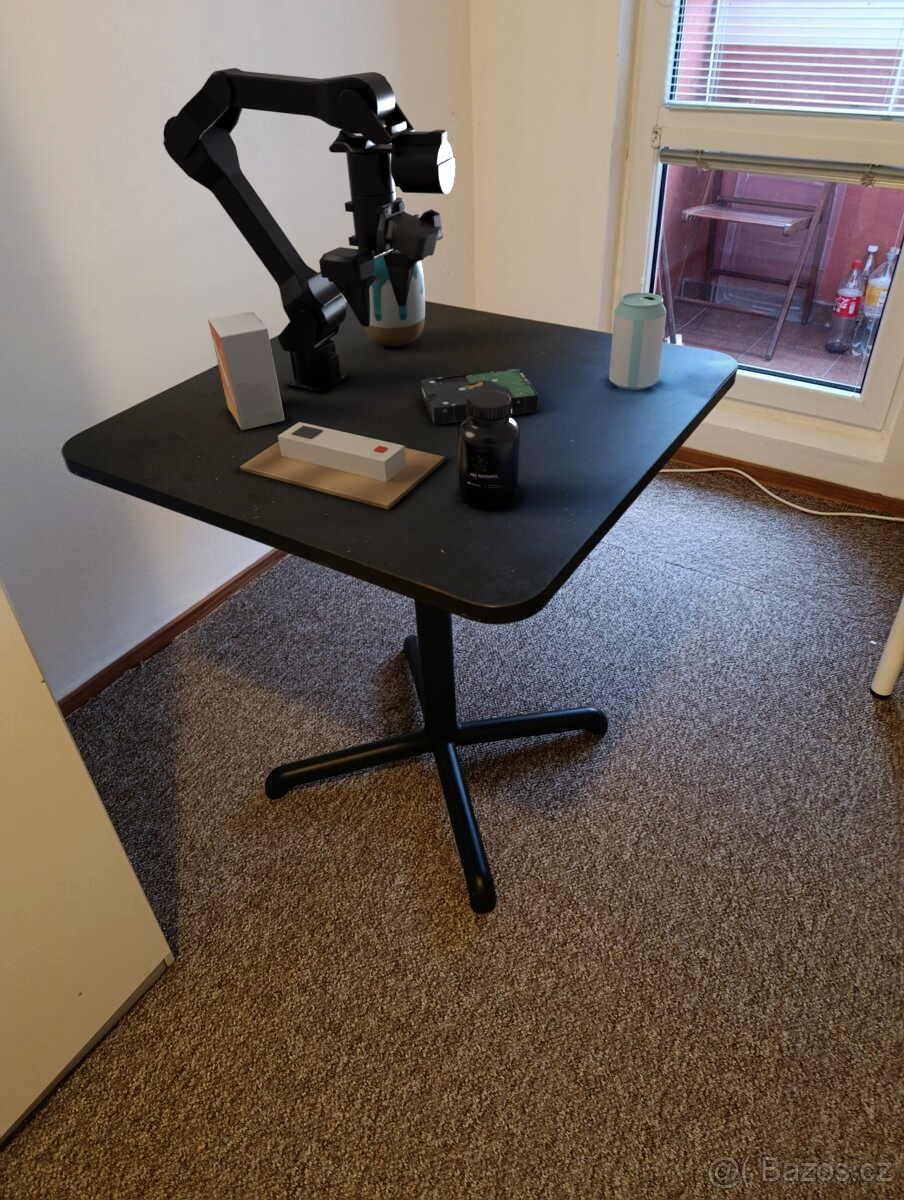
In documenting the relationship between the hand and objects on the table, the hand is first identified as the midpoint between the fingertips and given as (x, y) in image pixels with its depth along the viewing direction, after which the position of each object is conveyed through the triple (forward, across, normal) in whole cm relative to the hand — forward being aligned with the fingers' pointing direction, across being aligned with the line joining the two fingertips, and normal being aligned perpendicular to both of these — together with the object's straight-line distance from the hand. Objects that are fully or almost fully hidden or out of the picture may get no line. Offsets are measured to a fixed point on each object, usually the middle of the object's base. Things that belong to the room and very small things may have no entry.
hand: (384, 315), depth 112 cm
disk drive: (+11, +1, -14) cm, 18 cm away
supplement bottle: (+11, -21, -27) cm, 36 cm away
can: (+11, +17, -31) cm, 37 cm away
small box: (+11, -15, +13) cm, 23 cm away
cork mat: (+11, -22, -7) cm, 26 cm away
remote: (+10, -22, -7) cm, 25 cm away
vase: (+11, +17, +10) cm, 23 cm away
